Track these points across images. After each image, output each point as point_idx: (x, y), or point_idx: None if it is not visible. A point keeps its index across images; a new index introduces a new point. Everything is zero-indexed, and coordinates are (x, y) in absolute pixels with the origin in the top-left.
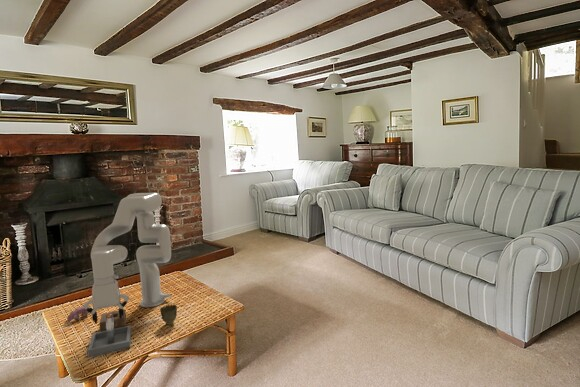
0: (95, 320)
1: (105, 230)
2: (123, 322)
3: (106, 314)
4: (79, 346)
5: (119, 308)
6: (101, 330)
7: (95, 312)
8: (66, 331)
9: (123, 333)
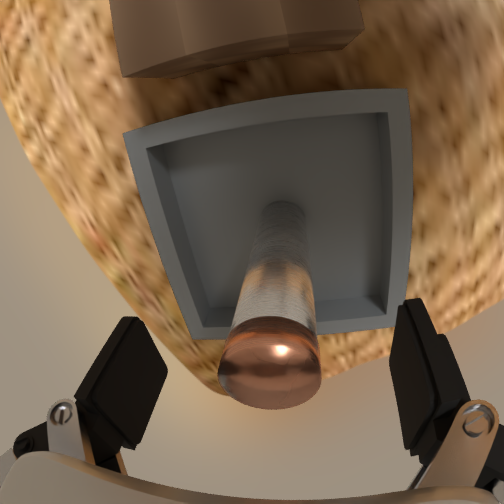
0: (153, 394)
1: None
2: (344, 38)
3: (232, 379)
4: (103, 188)
5: (418, 453)
6: (165, 75)
7: (112, 436)
8: (2, 29)
9: (346, 123)
